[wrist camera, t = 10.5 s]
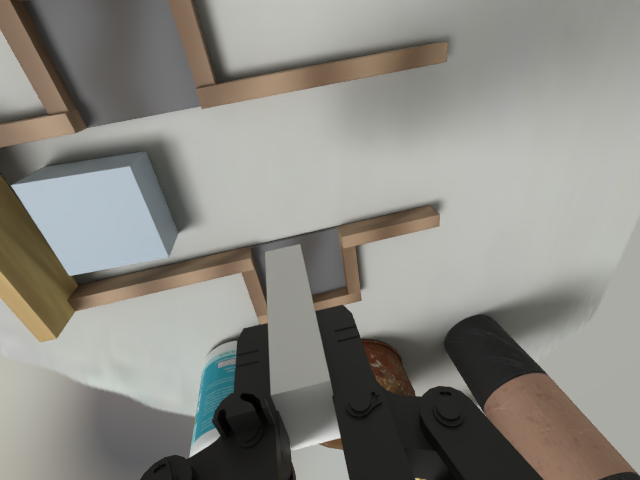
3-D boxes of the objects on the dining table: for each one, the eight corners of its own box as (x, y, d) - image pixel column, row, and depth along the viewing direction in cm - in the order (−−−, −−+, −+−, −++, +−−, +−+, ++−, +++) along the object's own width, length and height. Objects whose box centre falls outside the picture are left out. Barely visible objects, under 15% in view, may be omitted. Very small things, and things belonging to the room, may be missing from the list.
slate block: (147, 150, 24) (129, 166, 20) (178, 231, 27) (168, 257, 24) (46, 165, 23) (10, 185, 20) (92, 247, 27) (69, 276, 23)
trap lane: (436, -89, 20) (487, -129, 16) (427, 274, 35) (452, 305, 30) (-149, 0, 17) (-280, -18, 13) (110, 351, 32) (89, 397, 28)
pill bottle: (190, 353, 34) (158, 506, 23) (254, 326, 34) (256, 467, 22) (225, 391, 38) (214, 538, 26) (283, 367, 38) (297, 505, 26)
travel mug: (475, 304, 38) (654, 504, 21) (509, 326, 42) (687, 515, 25) (430, 345, 41) (559, 556, 24) (465, 363, 44) (600, 559, 27)
